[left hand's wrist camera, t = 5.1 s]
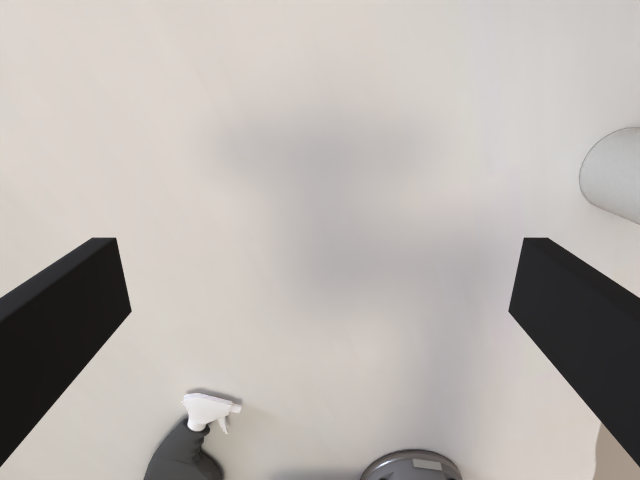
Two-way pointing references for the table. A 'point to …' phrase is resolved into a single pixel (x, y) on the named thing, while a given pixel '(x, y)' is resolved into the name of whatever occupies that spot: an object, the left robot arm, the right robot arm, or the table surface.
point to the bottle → (614, 174)
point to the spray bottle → (191, 442)
